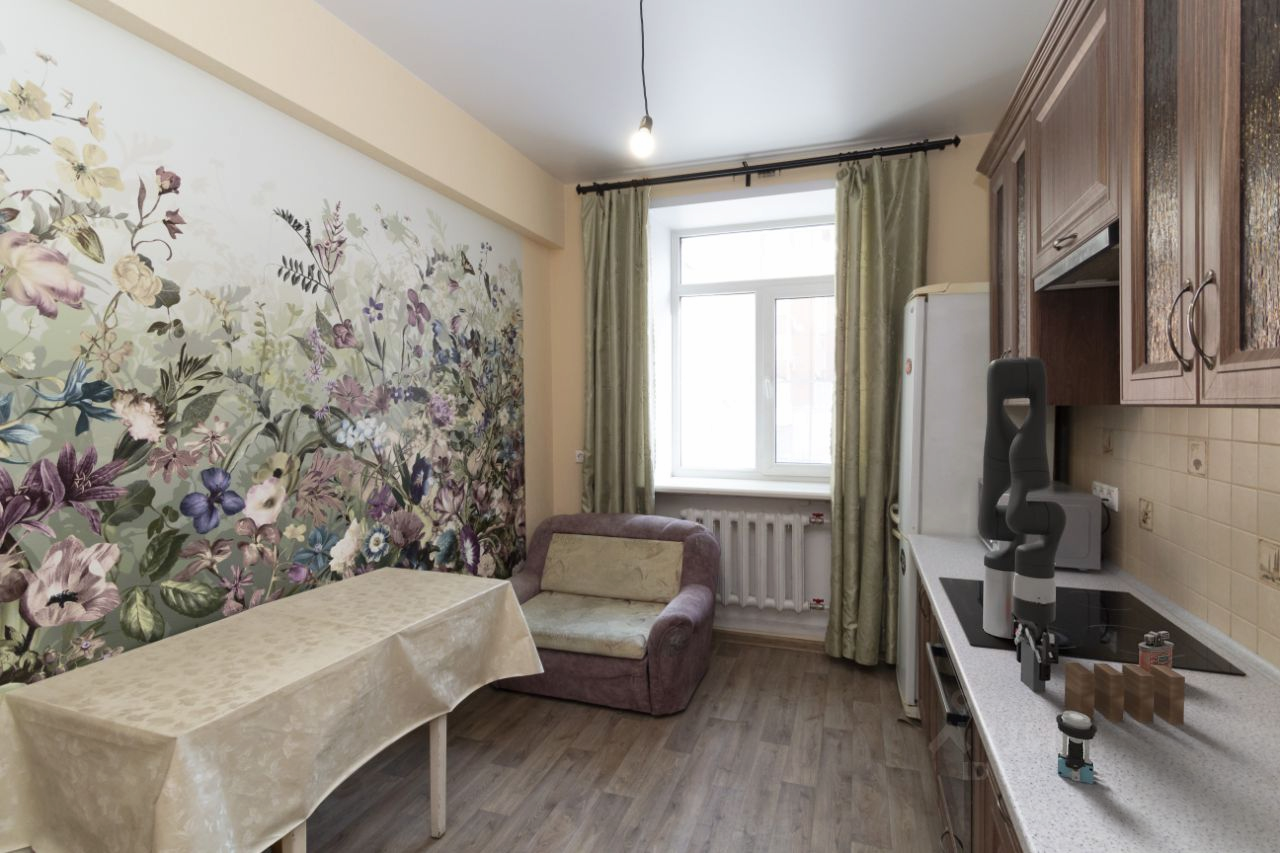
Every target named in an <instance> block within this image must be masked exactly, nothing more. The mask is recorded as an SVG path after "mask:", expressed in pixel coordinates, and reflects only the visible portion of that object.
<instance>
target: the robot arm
mask: <svg viewBox="0 0 1280 853" xmlns="http://www.w3.org/2000/svg"><path fill="white" fill-rule="evenodd" d="M1015 399H1016V400H1017V399H1018V400H1019V399H1029V409H1028V411H1027V415H1026V418H1025V419H1024V422H1023V423H1022V425H1021V427H1020V428H1019V427H1018V426H1017V425H1016V424H1015V422H1014V421H1013V420H1012V419H1011V417H1010V416H1009V414H1008V412H1007V410H1006V407H1005V406H1004V404H1005V403H1004V402H1005V400H1015ZM1047 423H1048V375H1047V369H1046V366H1045V363H1044V361H1043V360H1042V358H1040V357H1038V356H1023V357H1020V356H1019V357H1007V358H996V359H994V360H992V361H990V363H989V365H988V367H987V372H986V427H985V428H986V429H985V435H984V436H985V438H984V445H983V446H984V447H983V458H982V461H983V464H982V465H983V466H982V486H981V487H982V489H981V495H980V496H981V497H980V502H979V508H978V509H979V510H978V515H977V529H978V533H979V536H980V537H981V538H982V539H984V540H989V541H996V542H1010V543H1009V544H1008V545H1007V546H1005V547H1003V548H1000V549H998V550H992V551H989V552H987V553H985V554H984V556H983V601H982V602H983V605H982V606H983V608H982V610H983V614H982V615H983V617H982V629H984V630H983V631H984V632H985V633H987V634H990V635H991V636H994V637H998V638H1002V639H1003V638H1004V639H1010V640H1011V639H1013V640H1014V644H1015V645H1016V651H1015V652H1016V662H1018V664H1021V640H1026V641H1028V642H1029V643H1030V644H1031V648H1032V650H1033V651H1034V652H1035V653H1036V656H1037V659H1038V662H1037V678H1038V679H1039V680H1040V681H1046V682H1050V681H1051V679H1052V678H1051V674H1052V672H1051V670H1052V668H1051V667H1052V665H1059V663H1060V662H1059V660H1060V659H1059V657H1060V656H1059V636H1058V634H1057V633H1051V632H1050V630H1049V624H1050V623H1052V622H1054V621H1055V620H1056V600H1057V599H1056V593H1057V592H1056V591H1057V588H1056V578H1055V569H1056V568H1055V564H1056V562H1055V560H1056V555H1057V550H1058V548H1059V544H1060V543H1061V539H1062V536H1063V535H1064V532H1065V528H1066V524H1067V515H1066V511H1065V509H1064V508H1063V506H1062V505H1061V504H1059V503H1058V502H1055V501H1050V500H1049V501H1048V500H1046V501H1044V500H1027V496H1028V494H1029V493H1034V492H1039V491H1044V490H1046V489H1049V488H1050V486H1051V476H1050V475H1051V474H1050V465H1049V458H1048V448H1047V447H1048V446H1047ZM1009 489H1010V492H1009V499H1008V503H1007V505H1006V504H998V502H999V501H1000V499H1001V498H1002V496H1003V495H1004V494H1005V493H1006V492H1007V491H1009ZM1028 535H1033V536H1039V537H1038V539H1037V540H1036V541H1034V542H1031V543H1030V542H1029V543H1027V537H1028ZM1016 629H1018V630H1017V632H1016ZM1037 645H1040V646H1037ZM1041 652H1042V655H1041Z"/></svg>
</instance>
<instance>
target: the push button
mask: <svg viewBox="0 0 1280 853" xmlns="http://www.w3.org/2000/svg"><path fill="white" fill-rule="evenodd" d="M1055 718H1056V719H1055V721H1056V722H1057V728H1058V730H1059V732H1061V733H1062V742H1061V744H1062V746H1061V748H1062V750H1061V751H1060V752H1059V753H1057V774H1058V775H1059V776H1061V777H1064V778H1065V777H1066V778H1068V779H1069V778H1070V779H1071V780H1072V781H1076V782H1083V783H1087V784H1090V785H1093V784H1094V781H1095V782H1101V783H1104V784H1107V780H1106V778H1107V774H1105V773H1103V772H1099V771H1097V770H1096V771H1095V770H1094V763H1093V761H1092V759H1090V753H1091V752H1090V747H1091V746H1090V744H1091V740H1093V739H1094V738H1095V736H1096V732H1097V730H1098V727H1097V725H1096V724H1095V722H1093V721H1090V718H1089V717H1088V716H1086V715H1084V714H1082V713H1079V712H1075V711H1069V710H1064V711H1063V713H1061V714H1058V715H1056V717H1055ZM1097 776H1100V777H1103V778H1105V779H1103V778H1100V777H1097Z"/></svg>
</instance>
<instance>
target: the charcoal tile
mask: <svg viewBox="0 0 1280 853" xmlns="http://www.w3.org/2000/svg"><path fill="white" fill-rule="evenodd" d="M1037 646H1040V645H1037ZM1041 655H1042V652H1041ZM1037 662H1038V659H1037V656H1036V653H1035V652H1034V651H1033V650H1032V648H1031V644H1030V643H1029V642H1028V641H1026V640H1021V663H1020V682H1022V683H1023V684H1024V685H1025V686H1026V687H1027V688H1028V689H1030V690H1031V691H1032V693H1035V692H1037V693H1046V682H1047V681H1040V680H1039V679H1038V678H1037Z"/></svg>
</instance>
